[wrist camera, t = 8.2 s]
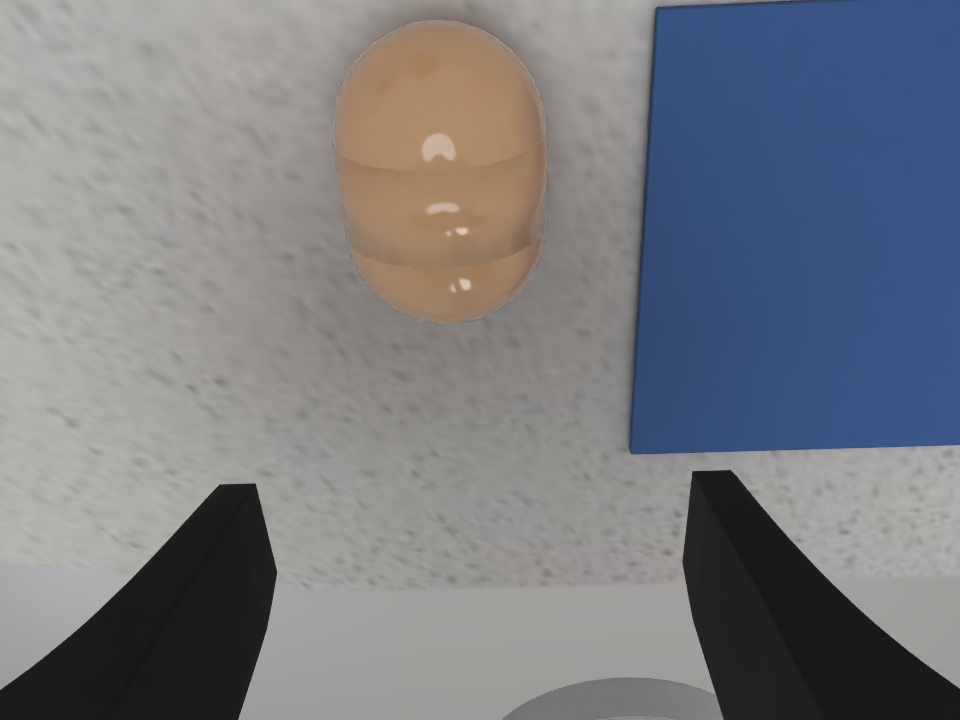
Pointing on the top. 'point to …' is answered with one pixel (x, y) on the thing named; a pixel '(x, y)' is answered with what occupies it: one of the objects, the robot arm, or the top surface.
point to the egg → (442, 170)
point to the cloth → (801, 228)
